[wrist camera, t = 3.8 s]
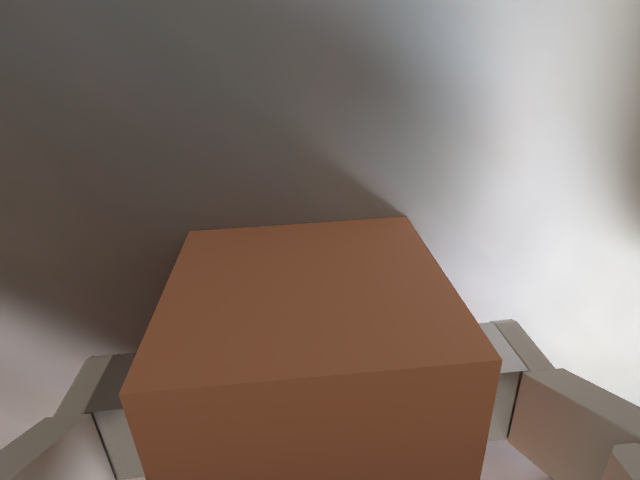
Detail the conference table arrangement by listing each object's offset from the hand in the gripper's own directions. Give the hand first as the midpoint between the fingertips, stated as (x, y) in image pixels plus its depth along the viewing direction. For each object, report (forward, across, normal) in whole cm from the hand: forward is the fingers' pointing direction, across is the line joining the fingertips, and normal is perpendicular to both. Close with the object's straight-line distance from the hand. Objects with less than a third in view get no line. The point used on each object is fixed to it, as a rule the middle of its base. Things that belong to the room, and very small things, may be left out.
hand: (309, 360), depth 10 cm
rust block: (+2, 0, 0) cm, 2 cm away
